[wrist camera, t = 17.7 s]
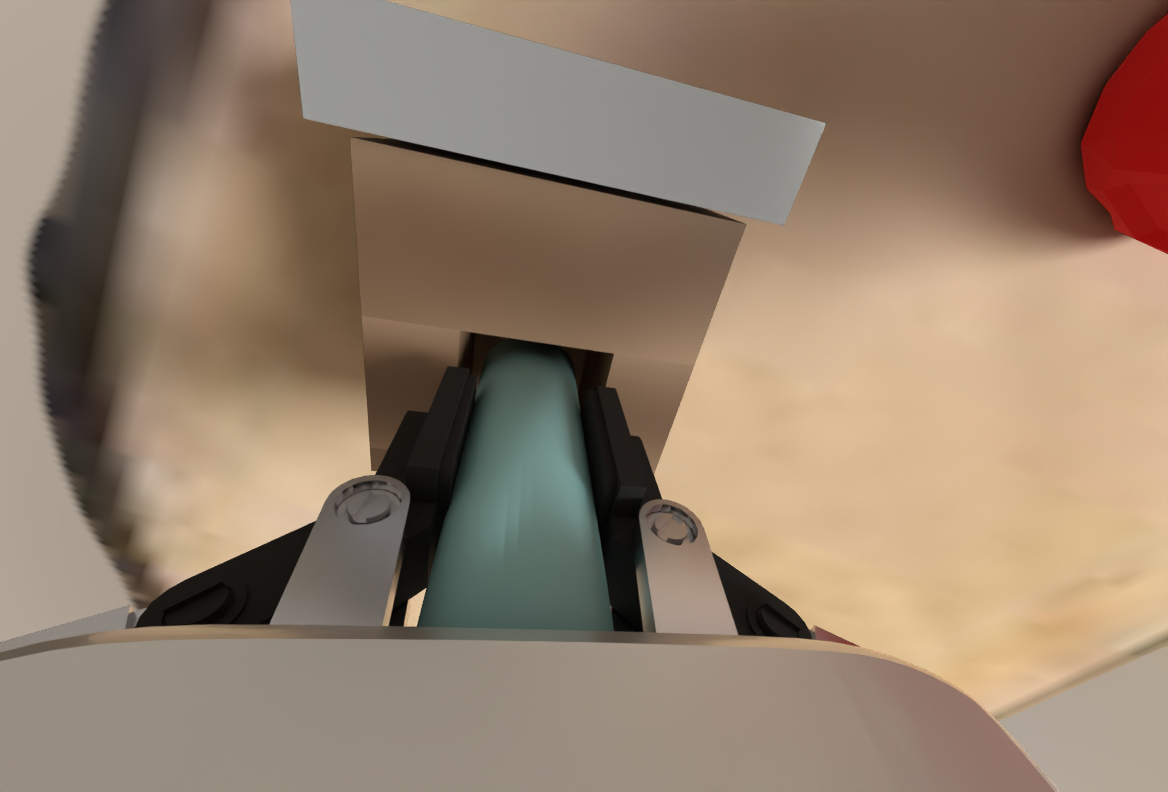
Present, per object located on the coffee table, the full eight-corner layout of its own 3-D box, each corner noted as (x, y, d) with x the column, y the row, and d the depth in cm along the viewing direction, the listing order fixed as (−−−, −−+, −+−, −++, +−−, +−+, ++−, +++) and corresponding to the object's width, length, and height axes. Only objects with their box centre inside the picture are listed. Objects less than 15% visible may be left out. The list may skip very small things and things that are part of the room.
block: (622, 415, 19) (646, 495, 15) (413, 390, 17) (371, 470, 13) (685, 201, 14) (746, 224, 10) (412, 140, 13) (349, 137, 9)
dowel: (565, 420, 15) (603, 804, 6) (478, 410, 14) (386, 816, 6) (582, 342, 13) (662, 706, 5) (486, 327, 13) (374, 709, 4)
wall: (698, 198, 15) (784, 225, 10) (397, 129, 13) (303, 117, 8) (719, 131, 14) (826, 122, 9) (396, 48, 12) (287, -27, 7)
